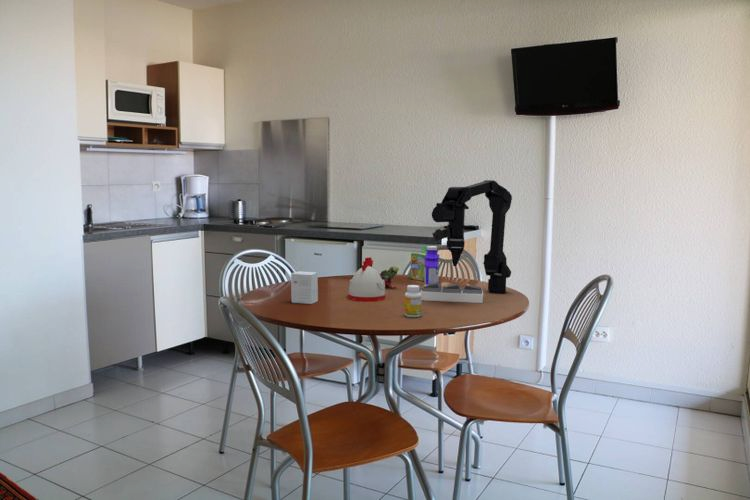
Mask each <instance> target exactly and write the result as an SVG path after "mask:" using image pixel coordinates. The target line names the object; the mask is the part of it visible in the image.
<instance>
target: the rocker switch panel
mask: <svg viewBox="0 0 750 500" xmlns="http://www.w3.org/2000/svg"><path fill="white" fill-rule="evenodd" d="M424 286H425V285H424V284H423V285H422V286H421V289H420V290H419V292H420V293H421V297H422V298H421V301H429V302H430V301H433V302H449V303H450V302H455V303H472V304H473V303H475V304H483V303H484V290H483V287H480V290H469V289H465V286H463V287H462V286H459V288H458V289H445V288H444V287H445V286H446V285H439V287H438V288H424Z"/></svg>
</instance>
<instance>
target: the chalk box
mask: <svg viewBox="0 0 750 500" xmlns="http://www.w3.org/2000/svg"><path fill="white" fill-rule="evenodd" d="M427 246H428V245H422V248H421V252H411V253H410V272H409V273H410V275H409V277H410V278H409V279H411V280H415V281H419V282H424V274H425V267H424V266H425V260H426V259H425V256H426V253H427V250H426V251H425V249H427ZM438 256H439V257H440V254H439V253H438ZM438 261H439V262H440V258H439V259H438ZM439 270H440V269H439ZM439 270H438V276H440V275H439V274H440V272H439Z"/></svg>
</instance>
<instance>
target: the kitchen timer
mask: <svg viewBox="0 0 750 500" xmlns="http://www.w3.org/2000/svg"><path fill="white" fill-rule="evenodd" d="M362 264H363V265H362ZM362 264H361V268H359V269H358V270H357V271H356V272H355V273H354V275H353V277H352V279H349V283H348V285H349V287H348V291H347V292H348V293H347V298H348V299H349V300H350V301H356V302H379V301H384V300H386V286H385V281H384V280H382V278H381V277H380V273H379V272H378V271H377V270H376V269H375V268H374V267H373V264H374V260H373V258H372V257H370V256H369V257H364V261H362Z"/></svg>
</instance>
